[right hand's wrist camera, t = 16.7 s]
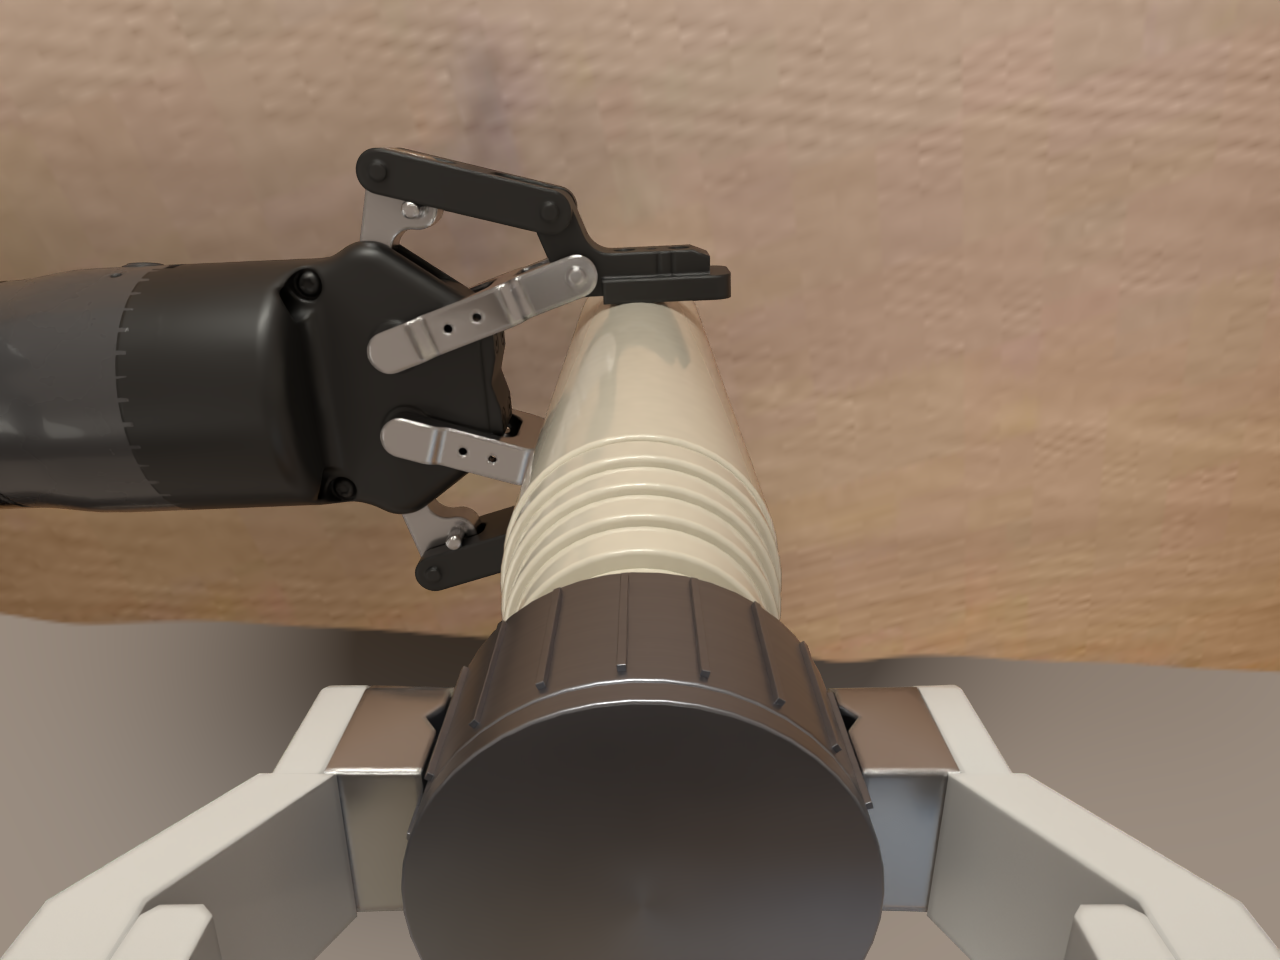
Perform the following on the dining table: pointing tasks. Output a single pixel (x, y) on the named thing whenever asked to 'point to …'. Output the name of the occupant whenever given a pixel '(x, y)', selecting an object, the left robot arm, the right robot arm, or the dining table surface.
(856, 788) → the cap
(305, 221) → the dining table surface
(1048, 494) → the dining table surface
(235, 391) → the left robot arm
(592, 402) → the bottle
